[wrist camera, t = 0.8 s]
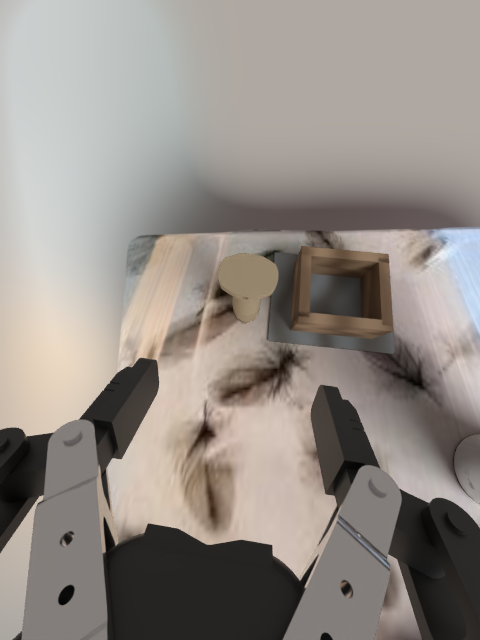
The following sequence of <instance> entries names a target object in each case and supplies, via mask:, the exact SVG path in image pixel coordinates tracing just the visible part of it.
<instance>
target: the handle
mask: <svg viewBox="0 0 480 640" xmlns="http://www.w3.org/2000/svg"><path fill="white" fill-rule="evenodd" d="M218 281H219V284H220V286H221V288H222V289H223V290H224V291H225V292H227V293H228V294H230V295H232V296H233V310H234V313H235V315H236V317H237V319H239V320H241V321H242V323H247V322H249V321H253V320H254V319H255V317H256V315H257V314H258V311H259V308H260V299H261V298H264V297H267V296H270V295H271V294H272V293H273V291H274V290H275V288H276V285H277V283H278V269H277V266H276V265H275V263H273V262H271V261H270V260H268V259H266V258H264V257H262V256H260V255H255V254H247V253H241V254H236V255H232V256H229V257H225V258H224V259H223V261H222V262H221V264H220V266H219V269H218Z"/></svg>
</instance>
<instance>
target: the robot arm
mask: <svg viewBox="0 0 480 640" xmlns="http://www.w3.org/2000/svg"><path fill="white" fill-rule="evenodd" d="M158 388H159V376H158V365H157V361H156V360H153V359H146V358H139V359H138V361H137V362H136V363H135V364H134V366H133V367H126V368H124V369H123V370H121V371H120V372H118V373H117V374H116V375H115V377H114V378H113V379H112V380H111V381H110V384H108V385H107V386H106V388H105V389H104V391H102V392H101V394H100V395H99V396H98V397H97V398H96V400H95V401H94V402H93V403H92V405H91V406H90V407H89V408H88V409H87V411H86V412H85V413H84V414H83V415H82V417H81V418H80V419H79V420H75V421H72V422H69V423H67V424H65V425H63V426H61V427H60V428H59V429H57V431H55V432H54V433H49V434H42V435H34V436H27V437H26V435H25V433H24V432H23V430H21V429H19V428H6V429H2V430H0V553H1V551H2V550H3V548H4V547H5V545H6V544H7V542H8V541H9V540H10V538H11V537H12V535H13V533H14V532H15V531H16V529H17V528H18V527H19V525H20V524H21V522H22V521H23V519H24V518H25V516H26V515H27V513H28V512H29V510H30V509H31V507H32V506H33V505H34V503H35V502H36V500H37V499H38V497H39V496H42V495H44V497H43V501H41V502H39V503H38V504H37V507H36V509H35V515H34V524H33V534H32V543H31V553H30V562H29V572H28V581H27V591H26V601H25V610H24V620H23V629H22V631H21V632H20V633H19V634H18V635H17V636H16V637H15V638H14V639H13V640H374V639H375V634H376V630H377V626H378V622H379V618H380V614H381V610H382V605H383V601H384V597H385V593H386V589H387V585H388V580H389V576H390V564H389V563H388V562H387V556H388V554H389V555H391V556H392V557H394V558H396V559H397V560H398V563H399V566H400V569H401V573H402V576H403V579H404V582H405V585H406V589H407V592H408V595H409V598H410V601H411V605H412V608H413V611H414V614H415V617H416V621H417V624H418V627H419V630H420V633H421V637H422V640H480V528H479V527H478V525H477V524H476V522H475V521H474V520H473V519H472V518H471V517H470V515H469V514H468V513H466V512H465V511H464V510H463V509H462V508H461V507H459V506H458V505H456V504H455V503H453V502H451V501H449V500H447V499H443V498H435V499H433V500H432V501H431V502H430V503H427V502H425V501H423V500H421V499H419V498H417V497H415V496H413V495H411V494H408V493H406V492H404V491H403V490H401V489H399V488H398V486H397V484H396V483H395V481H394V480H393V479H392V478H391V477H390V476H389V475H388V474H387V473H386V472H384V471H383V470H381V469H380V466H379V464H378V462H377V459H376V457H375V454H374V452H373V450H372V447H371V445H370V442H369V440H368V437H367V435H366V433H365V432H364V428H363V425H362V423H361V422H360V421H361V420H360V418H359V415H358V413H357V411H356V409H355V408H354V407H353V406H352V404H351V403H350V402H349V401H348V400H343V399H342V397H341V395H340V392H339V389H338V388H337V387H332V386H325V385H320V386H319V388H318V391H317V394H316V396H315V399H314V402H313V405H312V408H311V422H312V427H313V432H314V437H315V442H316V448H317V453H318V458H319V463H320V468H321V473H322V478H323V484H324V489H325V494H328V495H334V496H335V498H336V502H337V505H336V507H335V509H334V511H333V513H332V515H331V517H330V519H329V521H328V523H327V525H326V528H325V530H324V532H323V534H322V536H321V538H320V540H319V542H318V544H317V546H316V548H315V550H314V552H313V554H312V556H311V558H310V559H309V561H308V563H307V565H306V567H305V569H304V571H303V573H302V575H301V577H300V579H298V578H297V577H296V575H295V574H294V573H293V572H292V571H291V570H290V569H289V568H288V567H287V566H286V565H285V564H284V563H283V562H282V561H280V560H279V559H278V558H276V557H274V556H273V554H272V545H268V544H263V543H257V542H251V541H245V540H237V541H231V542H226V543H220V544H214V545H206V544H204V543H202V542H200V541H199V540H197V539H195V538H193V537H192V536H190V535H188V534H186V533H185V532H183V531H181V530H179V529H177V528H171V527H165V526H160V525H154V524H148V525H147V528H146V531H145V533H143V534H139V535H136V536H133V537H130V538H128V539H126V540H124V541H122V542H120V543H119V544H118V540H117V533H116V528H115V523H114V518H113V512H112V504H111V496H110V487H109V479H108V471H107V466H108V464H109V462H110V461H111V459H112V458H116V459H122V457H123V455H124V454H125V452H126V450H127V448H128V446H129V444H130V443H131V441H132V439H133V437H134V435H135V433H136V432H137V430H138V428H139V426H140V424H141V422H142V420H143V419H144V417H145V415H146V413H147V411H148V409H149V408H150V406H151V404H152V402H153V400H154V398H155V397H156V395H157V392H158ZM454 468H455V472H456V476H457V478H458V481H459V483H460V484H461V486H462V488H463V489H464V490H465V492H466V493H467V494H468V495H469V496H470V497H471V498H472V499H473V500H475V501H476V502H478V503H479V504H480V434H477V435H471V436H469V437H466V438H465V439H464V440H462V441H461V443H460V444H459V445H458V447H457V449H456V451H455V456H454Z"/></svg>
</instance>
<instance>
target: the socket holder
mask: <svg viewBox="0 0 480 640" xmlns="http://www.w3.org/2000/svg"><path fill="white" fill-rule="evenodd" d="M274 263H275V265H276V266H277V269H278V283H277V285H276V288H275V290H274V291H273V293H272V294H271V306H270V319H269V331H268V341H275V342H284V343H293V344H303V345H312V346H322V347H331V348H340V349H350V350H359V351H368V352H378V353H387V354H395V352H394V336H393V316H392V301H391V286H390V270H389V255H388V254H381V253H371V252H360V251H349V250H338V249H327V248H316V247H305V246H302V247H301V250H300V252H299V254H298V255H297V254H287V253H276V252H275V256H274Z"/></svg>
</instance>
